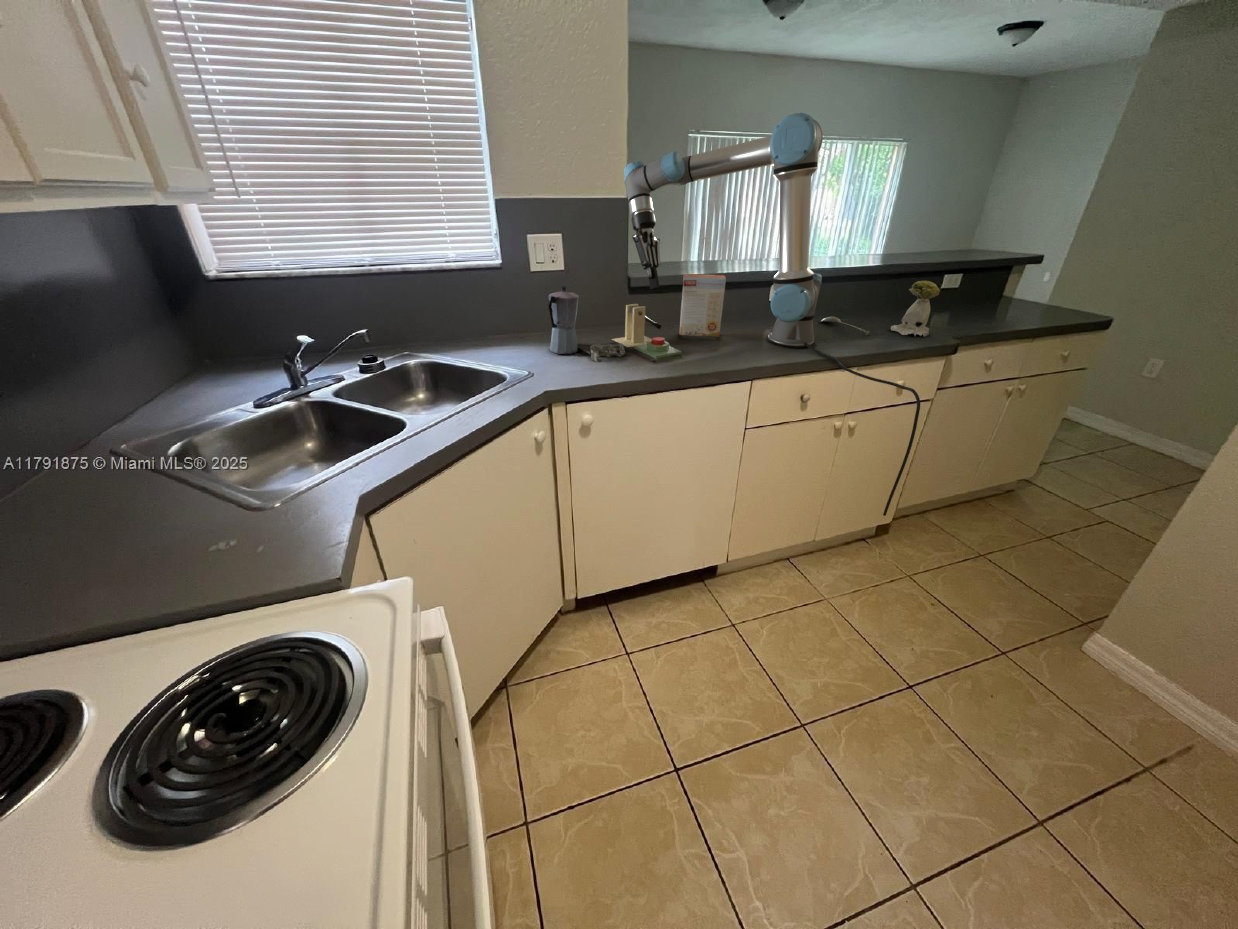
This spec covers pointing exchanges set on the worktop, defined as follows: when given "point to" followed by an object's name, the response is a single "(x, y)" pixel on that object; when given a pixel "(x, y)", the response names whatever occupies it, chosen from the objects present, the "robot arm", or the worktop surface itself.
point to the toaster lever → (648, 320)
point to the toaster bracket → (634, 327)
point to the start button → (658, 341)
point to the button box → (659, 351)
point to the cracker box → (702, 304)
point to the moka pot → (563, 321)
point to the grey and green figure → (918, 309)
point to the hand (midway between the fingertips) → (655, 288)
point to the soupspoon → (843, 323)
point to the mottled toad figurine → (599, 351)
